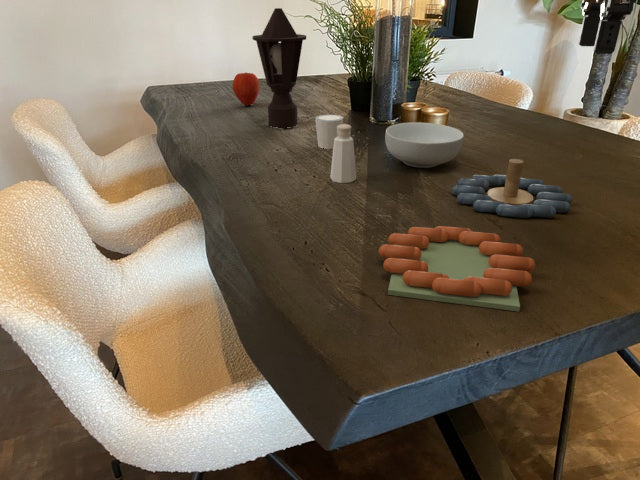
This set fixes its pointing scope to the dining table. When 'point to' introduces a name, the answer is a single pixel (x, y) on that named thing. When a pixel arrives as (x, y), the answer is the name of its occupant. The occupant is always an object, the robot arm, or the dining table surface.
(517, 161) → the ring stand
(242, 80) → the apple
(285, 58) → the lantern
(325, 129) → the white sugar pot
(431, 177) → the dining table surface
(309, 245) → the dining table surface
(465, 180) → the bottom ring
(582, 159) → the dining table surface
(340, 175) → the pepper shaker
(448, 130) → the cereal bowl
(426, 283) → the top ring
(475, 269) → the mat
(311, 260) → the dining table surface
